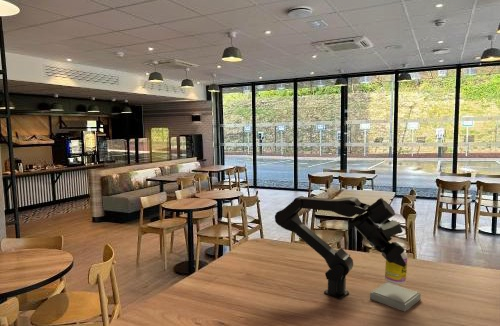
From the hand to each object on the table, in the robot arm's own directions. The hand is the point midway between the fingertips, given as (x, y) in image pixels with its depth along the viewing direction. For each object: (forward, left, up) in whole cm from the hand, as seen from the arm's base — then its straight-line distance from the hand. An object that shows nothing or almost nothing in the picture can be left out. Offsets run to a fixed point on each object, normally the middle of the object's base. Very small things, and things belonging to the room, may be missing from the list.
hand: (400, 261), depth 121 cm
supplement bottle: (-1, +1, -7) cm, 7 cm away
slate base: (-1, +1, -13) cm, 13 cm away
